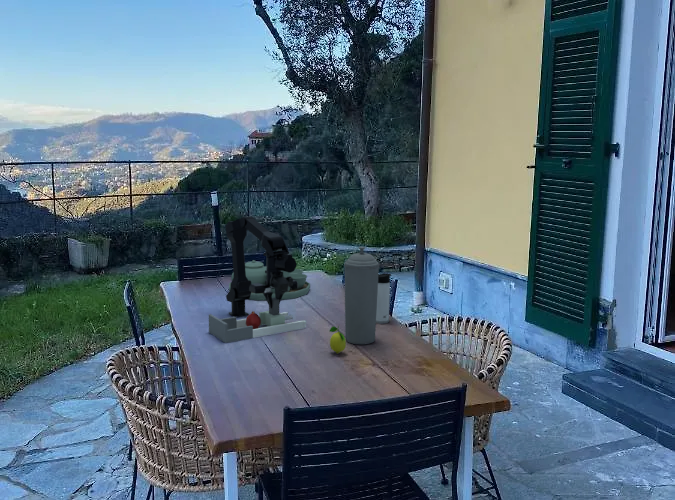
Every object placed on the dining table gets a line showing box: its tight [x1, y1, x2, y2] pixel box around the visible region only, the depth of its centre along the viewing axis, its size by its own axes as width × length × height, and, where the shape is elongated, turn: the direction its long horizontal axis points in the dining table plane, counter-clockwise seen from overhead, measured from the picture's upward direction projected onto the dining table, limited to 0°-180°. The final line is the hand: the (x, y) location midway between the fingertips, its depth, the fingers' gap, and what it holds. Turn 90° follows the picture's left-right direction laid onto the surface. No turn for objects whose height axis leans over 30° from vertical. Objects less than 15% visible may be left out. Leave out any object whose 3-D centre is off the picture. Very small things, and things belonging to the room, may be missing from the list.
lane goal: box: [208, 311, 307, 344], centre depth 231 cm, size 15×34×7 cm, turn 124°
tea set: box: [228, 259, 311, 301], centre depth 294 cm, size 40×40×16 cm
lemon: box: [329, 325, 347, 355], centre depth 206 cm, size 7×6×10 cm
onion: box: [245, 310, 262, 329], centre depth 230 cm, size 6×6×8 cm
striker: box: [258, 297, 294, 327], centre depth 236 cm, size 10×12×11 cm
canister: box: [343, 246, 380, 345], centre depth 218 cm, size 13×13×35 cm
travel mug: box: [376, 273, 392, 325], centre depth 244 cm, size 6×7×20 cm
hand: (274, 307), depth 234 cm, fingers closed on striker, 2 cm apart
